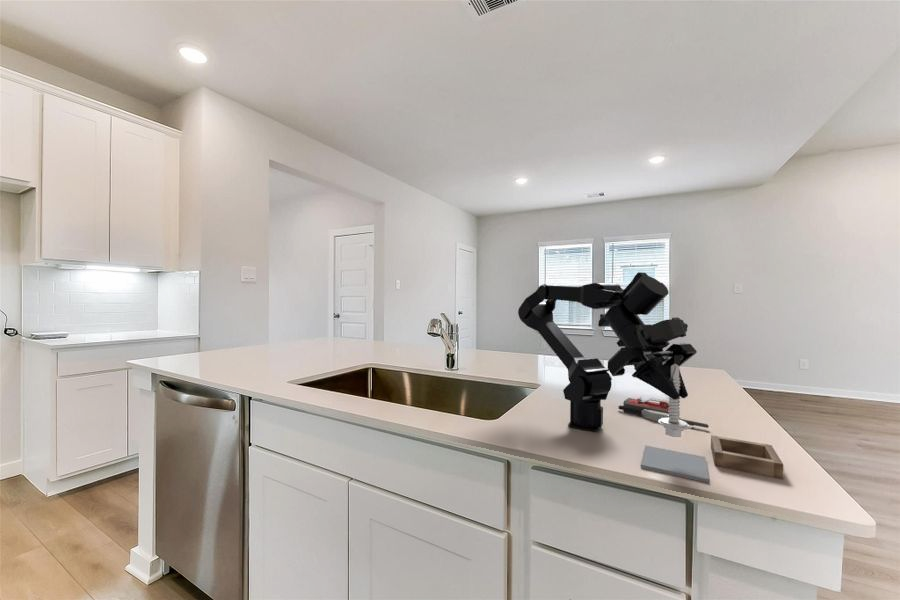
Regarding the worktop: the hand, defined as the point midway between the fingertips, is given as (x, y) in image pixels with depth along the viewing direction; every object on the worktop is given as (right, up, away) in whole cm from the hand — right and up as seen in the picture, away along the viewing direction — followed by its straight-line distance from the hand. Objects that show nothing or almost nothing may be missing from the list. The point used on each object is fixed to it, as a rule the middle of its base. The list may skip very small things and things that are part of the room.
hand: (681, 397), depth 67 cm
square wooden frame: (+13, -12, +2) cm, 18 cm away
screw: (-1, -7, +1) cm, 7 cm away
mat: (-1, -12, +1) cm, 12 cm away
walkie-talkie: (+12, -13, +27) cm, 33 cm away
